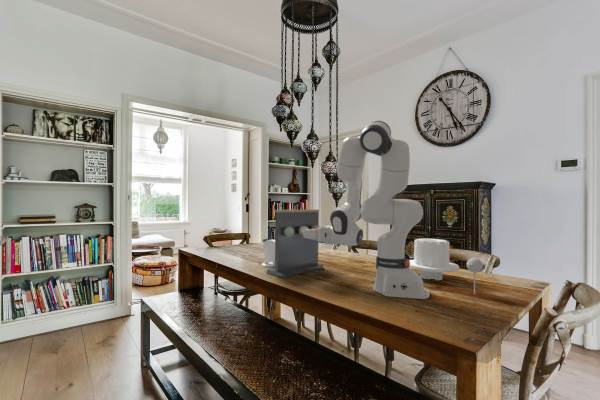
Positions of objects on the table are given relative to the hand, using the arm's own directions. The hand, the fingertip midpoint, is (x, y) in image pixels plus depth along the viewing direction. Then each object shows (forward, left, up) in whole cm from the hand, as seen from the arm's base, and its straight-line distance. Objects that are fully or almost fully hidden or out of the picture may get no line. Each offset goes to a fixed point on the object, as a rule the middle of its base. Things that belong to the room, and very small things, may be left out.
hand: (306, 233), depth 155 cm
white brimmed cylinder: (-57, -27, -22) cm, 67 cm away
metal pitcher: (+30, -17, -22) cm, 41 cm away
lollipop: (-74, -3, -22) cm, 77 cm away
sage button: (+9, +2, -2) cm, 10 cm away
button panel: (+9, -9, -22) cm, 25 cm away
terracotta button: (+2, -17, -2) cm, 17 cm away
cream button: (+5, -7, -2) cm, 9 cm away
